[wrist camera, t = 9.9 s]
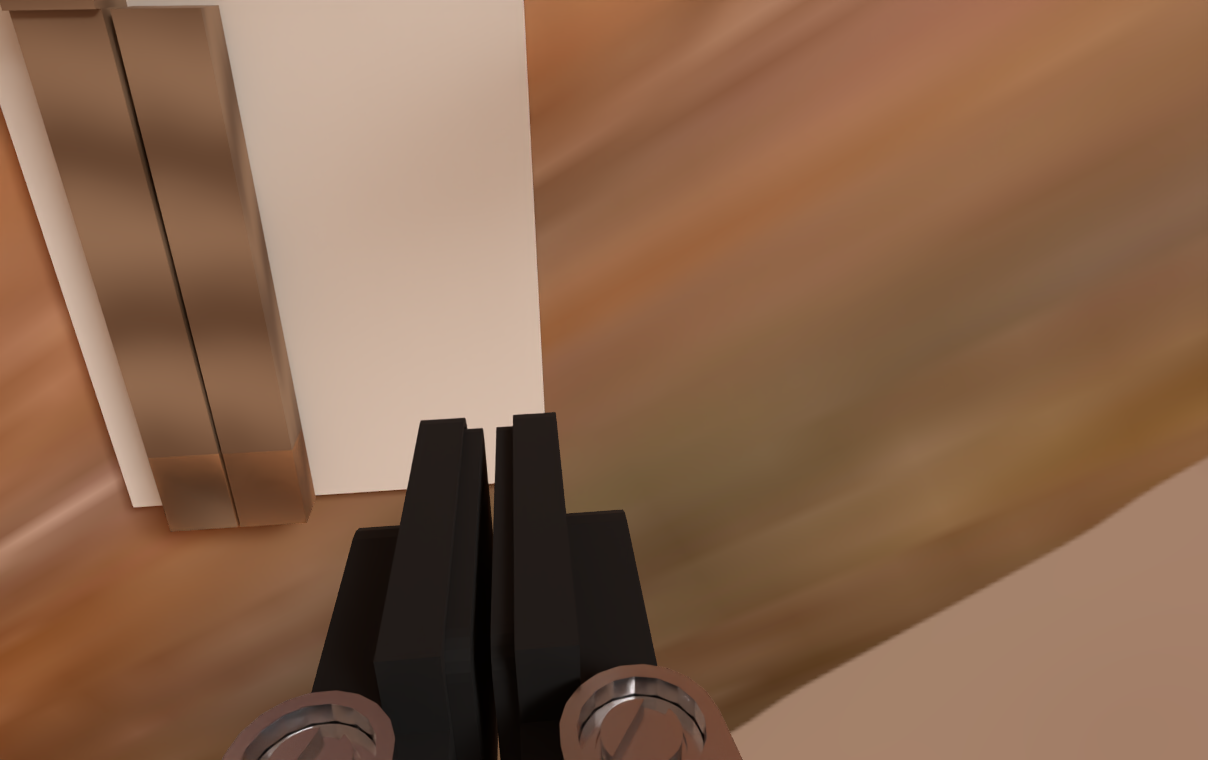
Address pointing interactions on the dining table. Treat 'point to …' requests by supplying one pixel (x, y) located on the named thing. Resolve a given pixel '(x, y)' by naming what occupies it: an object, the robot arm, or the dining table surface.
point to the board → (356, 223)
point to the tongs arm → (219, 251)
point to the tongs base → (126, 247)
